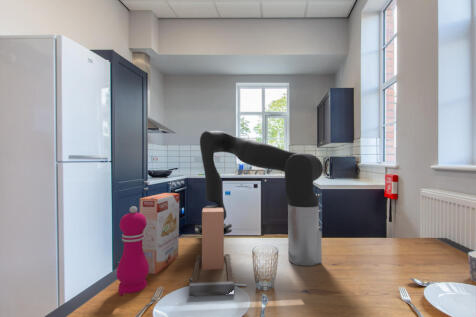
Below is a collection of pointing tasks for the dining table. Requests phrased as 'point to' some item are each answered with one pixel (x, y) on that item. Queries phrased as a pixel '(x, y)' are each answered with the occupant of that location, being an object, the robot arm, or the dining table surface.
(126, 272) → the pepper mill
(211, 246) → the block
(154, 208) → the cracker box
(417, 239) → the dining table surface
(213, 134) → the robot arm
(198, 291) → the chute
